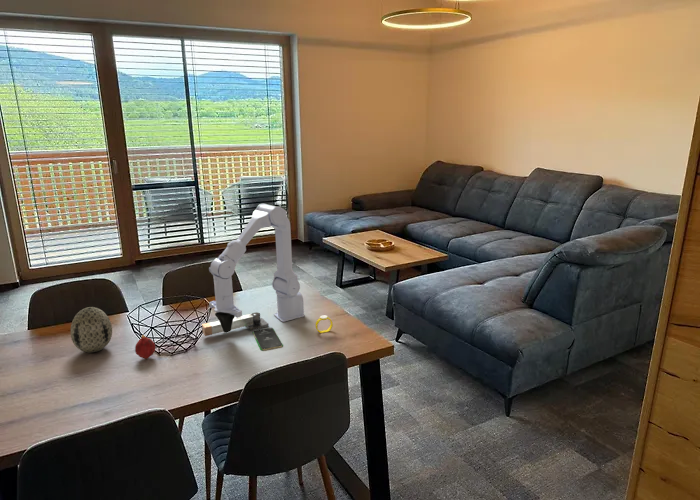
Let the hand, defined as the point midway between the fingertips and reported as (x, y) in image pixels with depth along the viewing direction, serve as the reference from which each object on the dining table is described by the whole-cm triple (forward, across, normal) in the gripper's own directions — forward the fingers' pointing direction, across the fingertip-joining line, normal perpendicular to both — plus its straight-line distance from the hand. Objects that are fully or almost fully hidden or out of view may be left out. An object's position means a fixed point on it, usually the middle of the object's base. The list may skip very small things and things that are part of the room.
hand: (227, 331), depth 160 cm
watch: (+3, +23, +24) cm, 33 cm away
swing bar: (+1, -3, +5) cm, 6 cm away
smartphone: (+3, +11, +8) cm, 14 cm away
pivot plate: (+3, 0, +13) cm, 13 cm away
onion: (+3, -10, -24) cm, 26 cm away
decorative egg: (+3, -29, -31) cm, 42 cm away
